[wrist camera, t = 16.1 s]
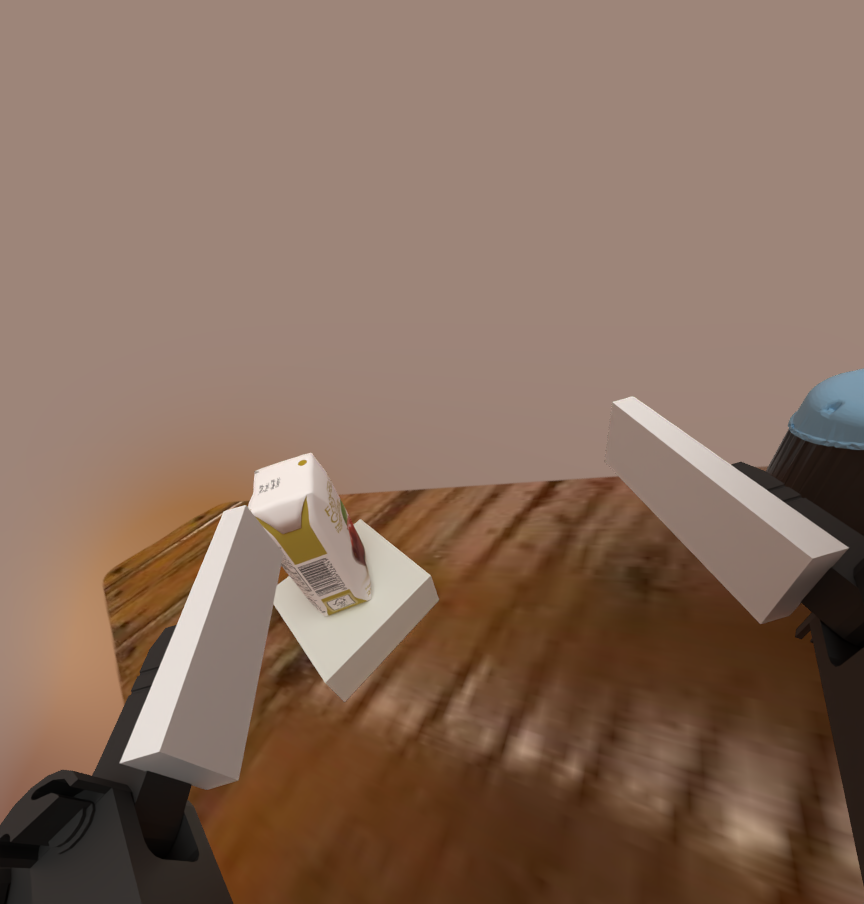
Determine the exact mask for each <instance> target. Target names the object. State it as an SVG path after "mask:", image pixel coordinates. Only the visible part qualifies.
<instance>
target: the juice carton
mask: <svg viewBox="0 0 864 904" xmlns="http://www.w3.org/2000/svg"><path fill="white" fill-rule="evenodd" d="M248 508H249V510H250V511H251V512H252V514H253V515H254V516H255V517H256V519H257V520H258V521H259V523H260V524H261V525H262V526H263V528H264V529H265V530H266V532H267V533H268V534H269V535H270V537H271V538H272V539H273V541H274V542H275V543H276V544H277V546H278V547H279V548H280V550H281V551H282V552H283V557H282V562H281V566H282V567H283V568H284V569H285V571H286V572H287V573H288V575H289V576H290V577H291V578H292V580H293V581H294V582H295V583H296V585H297V586H298V587H299V589H300V590H301V591H302V592H303V594H304V595H305V596H306V597H307V599H308V600H309V601H310V602H311V603H312V605H313V606H314V607H315V608H316V609H317V610H318V611H319V612H320V613H321V614H322V615H324V616H329V615H331V614H334V613H337V612H339V611H342V610H345V609H347V608H350V607H353V606H355V605H358V604H361V603H363V602H366V601H368V600H370V599H371V597H372V595H371V584H370V576H369V571H368V567H367V557H366V551H365V547H364V545H363V543H362V541H361V539H360V537H359V535H358V533H357V531H356V529H355V527H354V525H353V523H352V521H351V519H350V517H349V515H348V513H347V511H346V509H345V507H344V505H343V503H342V501H341V499H340V497H339V495H338V493H337V491H336V490H335V488H334V486H333V484H332V482H331V480H330V478H329V476H328V475H327V473H326V471H325V470H324V469H323V467H322V466H321V465H320V463H319V462H318V461H317V460H316V458H315V457H314V456H313V454H312V453H309V454H304V455H301V456H299V457H295V458H292V459H288V460H285V461H282V462H279V463H276V464H273V465H271V466H268V467H265V468H261V469H259V470H256V471H255V477H254V493H253V495H252V497H251V500H250V502H249V505H248Z"/></svg>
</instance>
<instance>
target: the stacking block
mask: <svg viewBox="0 0 864 904" xmlns="http://www.w3.org/2000/svg"><path fill="white" fill-rule="evenodd" d="M354 527H355V529H356V531H357V533H358V535H359V537H360V539H361V541H362V543H363V545H364V547H365V551H366V557H367V567H368V571H369V576H370V584H371V595H372V597H371V599H370V600H368V601H366V602H363V603H361V604H358V605H355V606H353V607H350V608H347V609H345V610H342V611H339V612H337V613H334V614H331V615H329V616H324V615H322V614H321V613H320V612H319V611H318V610H317V609H316V608H315V607H314V606H313V605H312V603H311V602H310V601H309V600H308V599H307V597H306V596H305V595H304V594H303V592H302V591H301V590H300V589H299V587H298V586H297V585H296V583H295V582H294V581H293V580H292V578H291V577H290V576H289V577H287V578H286V579H285V580H283V581H282V582H281V583H280V584H278V585H277V587H276V592H275V597H274V603H273V604H274V606H275V607H276V609H277V610H278V612H279V613H280V615H281V616H282V618H283V619H284V621H285V622H286V624H287V625H288V627H289V628H290V630H291V631H292V633H293V634H294V636H295V638H296V639H297V641H298V642H299V644H300V645H301V647H302V648H303V650H304V651H305V653H306V654H307V656H308V657H309V659H310V660H311V662H312V663H313V665H314V666H315V668H316V669H317V671H318V673H319V674H320V676H321V677H322V679H323V680H324V682H325V683H326V684H327V685H328V686H329V687H330V688H331V689H332V690H333V691H334V692H335V693H336V694H337V695H338V696H339V697H340V698H341V699H342V700H343V701H344V702H346V700H347V699H348V698H349V697H350V696H351V695H352V694H353V693H354V692H355V691H356V690H357V689H358V687H359V686H360V685H361V684H362V683H363V682H364V681H365V680H366V679H367V678H368V677H369V676H370V674H371V673H372V672H373V671H374V670H375V669H376V668H377V667H378V666H379V665H380V664H381V663H382V661H383V660H384V659H385V658H386V657H387V656H388V655H389V654H390V653H391V652H392V651H393V650H394V648H395V647H396V646H397V645H398V644H399V643H400V642H401V641H402V640H403V639H404V638H405V637H406V635H407V634H408V633H409V632H410V631H411V630H412V629H413V628H414V627H415V626H416V625H417V624H418V622H419V621H420V620H421V619H422V618H423V617H424V616H425V615H426V614H427V613H428V612H429V611H430V609H431V608H432V607H433V606H434V605H435V604H436V603H437V602H438V601H439V598H438V595H437V592H436V589H435V587H434V584H433V581H432V578H431V575H429V574H428V573H427V572H426V571H424V570H423V569H422V568H421V567H419V566H418V565H417V564H416V563H414V562H413V561H412V560H411V559H409V558H408V557H407V556H406V555H404V554H403V553H402V552H401V551H399V550H398V549H397V548H396V547H395V546H393V545H392V544H391V543H390V542H388V541H387V540H386V539H385V538H383V537H382V536H381V535H380V534H378V533H377V532H376V531H375V530H373V529H372V528H371V527H370V526H368V525H367V524H366V523H365V522H363V521H362V520H361V519H360V520H359V521H358V522H356V523H355V524H354Z"/></svg>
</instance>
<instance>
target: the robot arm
mask: <svg viewBox="0 0 864 904" xmlns="http://www.w3.org/2000/svg"><path fill="white" fill-rule="evenodd" d="M788 427H789V429H788V431H787V433H786V435H785V437H784V439H783V441H782V442H781V444H780V446H779V448H778V450H777V452H776V454H775V455H774V457H773V459H772V461H771V463H770V464H769V466H768V468H767V470H766V472H765V471H763V470H761V469H758V468H756V467H753V466H750V465H748V464H745V463H742V462H739V463H735V464H732V465H730V464H729V463H727V462H726V461H725V460H723V459H722V458H720V457H719V456H718V455H716V454H715V453H713V452H712V451H710V450H709V449H707V448H706V447H705V446H703V445H702V444H700V443H699V442H698V441H696V440H695V439H693V438H692V437H690V436H689V435H688V434H686V433H685V432H683V431H682V430H680V429H679V428H678V427H676V426H675V425H673V424H672V423H671V422H669V421H668V420H666V419H665V418H663V417H662V416H661V415H659V414H658V413H656V412H655V411H653V410H652V409H651V408H649V407H648V406H646V405H645V404H644V403H642V402H641V401H639V400H638V399H636V398H635V397H633V396H632V397H629V398H625V399H622V400H618V401H615V402H612V409H611V416H610V424H609V432H608V439H607V447H606V454H605V462H606V464H607V465H608V466H609V467H611V469H612V470H613V471H614V472H615V473H616V474H617V475H618V476H619V477H620V478H621V479H622V480H623V481H624V482H625V483H626V484H627V486H628V487H629V488H630V489H631V490H632V491H633V492H634V493H635V494H636V495H637V496H638V497H639V498H640V499H641V500H642V501H643V502H644V503H645V504H646V505H647V506H648V507H649V508H650V509H651V511H652V512H653V513H654V514H655V515H656V516H657V517H658V518H659V519H660V520H661V521H662V522H663V523H664V524H665V525H666V526H667V527H668V528H669V529H670V530H671V531H672V532H673V533H674V535H675V536H676V537H677V538H678V539H679V540H680V541H681V542H682V543H683V544H684V545H685V546H686V547H687V548H688V549H689V550H690V551H691V552H692V553H693V554H694V555H695V556H696V557H697V558H698V560H699V561H700V562H701V563H702V564H703V565H704V566H705V567H706V568H707V569H708V570H709V571H710V572H711V573H712V574H713V575H714V576H715V577H716V578H717V579H718V580H719V581H720V582H721V584H722V585H723V586H724V587H725V588H726V589H727V590H728V591H729V592H730V593H731V594H732V595H733V596H734V597H735V598H736V599H737V600H738V601H739V602H740V603H741V604H742V605H743V606H744V607H745V609H746V610H747V611H748V612H749V613H750V614H751V615H752V616H753V617H754V618H755V619H756V620H757V621H758V622H759V623H760V624H763V623H767V622H770V621H773V620H777V619H780V618H783V617H787V616H790V615H791V614H792V613H793V611H794V610H795V609H796V608H797V607H798V606H799V605H800V603H802V604H804V605H805V606H806V607H807V608H808V609H809V610H810V611H811V612H812V613H811V614H810V615H809V616H808V617H807V618H806V619H805V621H804V622H803V623H802V624H801V625H800V626H799V627H798V628H797V629H796V635H795V637H796V638H799V639H802V638H803V637H804V636H805V635H806V634H807V633H808V632H809V631H810V630H811V634H812V639H811V642H812V643H814V648H815V653H816V658H817V663H818V668H819V672H820V677H821V682H822V687H823V692H824V697H825V701H826V706H827V711H828V716H829V721H830V726H831V730H832V735H833V740H834V745H835V750H836V755H837V759H838V764H839V769H840V774H841V779H842V783H843V788H844V793H845V798H846V803H847V808H848V812H849V817H850V822H851V827H852V832H853V837H854V841H855V846H856V851H857V856H858V861H859V866H860V870H861V875H862V880H863V885H864V369H859V370H856V371H851V372H846V373H842V374H838V375H835V376H833V377H830V378H828V379H826V380H824V381H823V382H821V383H819V384H818V385H816V386H815V387H814V388H813V389H812V390H811V391H810V392H809V393H808V395H807V396H806V398H805V399H804V401H803V403H802V404H801V406H800V408H799V409H798V411H797V412H795V413H794V414H793V415H792V417H791V418H790V421H789V423H788ZM282 557H283V552H282V551H281V550H280V548H279V547H278V546H277V544H276V543H275V542H274V541H273V539H272V538H271V537H270V535H269V534H268V533H267V532H266V530H265V529H264V528H263V526H262V525H261V524H260V523H259V521H258V520H257V519H256V517H255V516H254V515H253V514H252V512H251V511H250V510H249V508H248V507H247V506H246V505H244V506H241V507H237V508H234V509H230V510H226V511H224V512H223V515H222V517H221V520H220V522H219V524H218V527H217V529H216V532H215V534H214V536H213V539H212V541H211V544H210V546H209V549H208V551H207V553H206V556H205V558H204V561H203V563H202V565H201V568H200V570H199V573H198V575H197V577H196V580H195V582H194V585H193V587H192V590H191V592H190V594H189V597H188V599H187V602H186V604H185V606H184V609H183V611H182V614H181V616H180V619H179V621H178V623H177V625H175V626H171V627H168V628H165V630H164V631H163V632H162V634H161V635H160V636H159V638H158V639H157V640H156V642H155V643H154V644H153V646H152V647H151V648H150V650H149V652H148V654H147V657H146V659H145V661H144V663H143V665H142V668H141V670H140V676H138V677H137V679H136V681H135V683H134V685H133V687H132V690H131V692H132V694H131V695H130V696H128V699H127V701H126V703H125V705H124V707H123V710H122V712H121V714H120V716H119V719H118V721H117V723H116V725H115V727H114V730H113V732H112V734H111V736H110V738H109V741H108V743H107V745H106V747H105V749H104V752H103V754H102V757H101V758H100V760H99V763H98V765H97V767H96V769H95V771H94V773H93V775H92V776H90V775H87V774H83V773H79V772H75V771H69V770H61V771H58V772H56V773H54V774H51V775H48V776H47V777H45V778H44V779H43V780H41V781H40V782H39V783H38V784H36V785H35V786H33V787H32V788H31V789H30V790H29V791H28V792H27V793H26V794H25V795H24V796H23V797H22V798H21V799H20V800H19V801H18V802H17V803H16V804H15V806H14V807H13V808H12V809H11V811H10V812H9V814H8V815H7V816H6V818H5V819H4V821H3V822H2V823H1V825H0V904H233V902H232V899H231V897H230V894H229V892H228V889H227V887H226V884H225V882H224V880H223V877H222V875H221V872H220V870H219V867H218V865H217V862H216V860H215V857H214V855H213V852H212V850H211V847H210V845H209V843H208V840H207V838H206V835H205V833H204V830H203V828H202V825H201V823H200V820H199V818H198V815H197V813H196V810H195V808H194V806H193V805H192V804H191V803H190V802H189V801H188V800H187V799H188V796H189V792H190V788H191V785H193V786H196V787H199V788H203V789H206V790H208V789H211V788H214V787H218V786H221V785H224V784H228V783H231V782H234V781H238V780H239V775H240V770H241V765H242V760H243V754H244V749H245V744H246V739H247V734H248V729H249V724H250V719H251V714H252V709H253V704H254V699H255V694H256V689H257V684H258V678H259V673H260V668H261V663H262V658H263V653H264V648H265V643H266V638H267V633H268V628H269V623H270V618H271V613H272V608H273V603H274V597H275V592H276V587H277V582H278V577H279V572H280V567H281V562H282Z"/></svg>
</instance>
